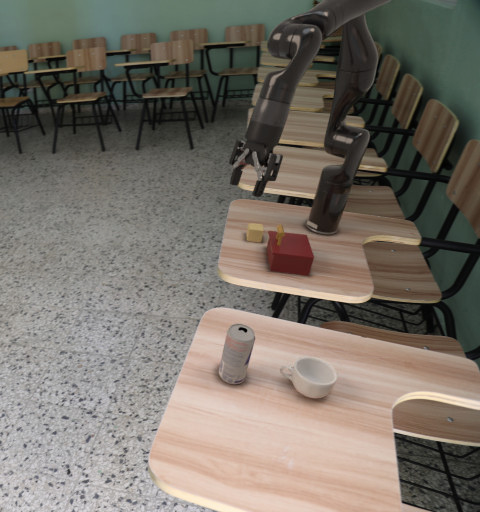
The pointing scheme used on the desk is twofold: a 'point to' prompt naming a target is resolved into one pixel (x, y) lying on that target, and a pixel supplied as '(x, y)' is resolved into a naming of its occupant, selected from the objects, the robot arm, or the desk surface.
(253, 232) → the tan cube
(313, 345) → the desk surface
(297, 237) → the cover
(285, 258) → the red cubby box
